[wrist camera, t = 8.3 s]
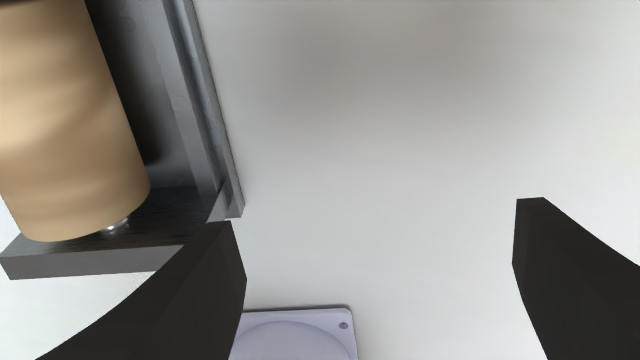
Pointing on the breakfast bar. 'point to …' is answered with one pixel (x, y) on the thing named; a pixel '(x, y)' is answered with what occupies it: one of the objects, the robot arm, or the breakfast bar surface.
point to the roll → (62, 125)
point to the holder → (151, 146)
